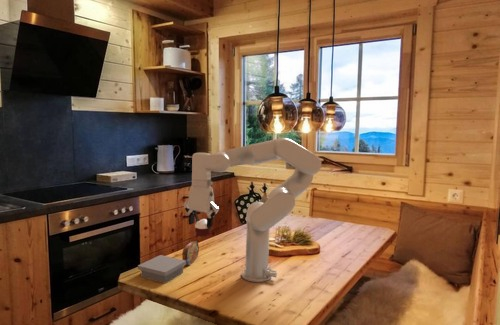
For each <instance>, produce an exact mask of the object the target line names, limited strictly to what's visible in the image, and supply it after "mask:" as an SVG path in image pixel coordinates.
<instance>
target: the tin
mask: <svg viewBox="0 0 500 325" xmlns="http://www.w3.org/2000/svg"><path fill="white" fill-rule="evenodd" d="M199 249H200V248H199V243H198V241H190V242H189V243H188V244H186V245H185V246H184V247H183V249H182V254H181V256H182V260H185V261H186V265H185V266H191V265H192V264H193V263H194V262H195V261H196V260H197V259H198V256H199V251H200V250H199Z"/></svg>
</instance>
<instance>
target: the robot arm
mask: <svg viewBox="0 0 500 325" xmlns="http://www.w3.org/2000/svg"><path fill="white" fill-rule="evenodd" d="M191 160H192V161H191V162H192V164H191V171H192V172H191V185H190V189H189V194H188V200H187V201H185V202H184V203H182V205H183V207H184V209H185V210H184V211H186V213H187V215H188V225H189V226H190V225H193V224H195V221H196V218H195V215H194V212H193V210H194V211H196V212H201V213H205V214H206V216H207V218H206V219H207V228H212V227H213V224H214V217H215V216H216V215H217V213H218V212H219V210H220V208H219V206H217V204H215V195H214V189H213V187H212V186H213V184H214V182H213V181H212V177H211V176H212V173H211V172H215V173H224V172H227V170H228V169H229V168H231V167H237V166H243V165H244V166H245V165H250V166H256V165H261V164H266V163H270V162H275V161H279V160H282V161H283V162H285V163H287V164H289V165H290V166H292V167H294V171H293V173H292V174H291V175H290V176H288V178H287V179H286V180H284V181H283V182H282V183H281V184H279V185H278V186H276V187H274V188H273V189H272V190H270V192H269V193H268V197H267V198H268V199H267V200H266V201H265V202H262V201H254V202H252V203H251V204H249V205H248V207H247V209H246V210H247V211H246V213H245V214H246V218H245V219H246V236H245V237H246V239H245V240H246V241H245V242H246V243H245V267H244V268H245V269H244V270H243V271H241V277H242V278H243V279H244V280H245V281H249V282H253V283H264V282H267V281H269V280H270V279H272V278H277V276H278V273H277V270H274V269H271V265H269V255H270V253H269V252H270V248H269V247H270V229H271V228H272V227H274V226H276V224H278V223H279V222H281V221H282V220H283V219H285V218H286V217H287V216H288V215H290V214H291V212H292V211H293V210H294V208H295V206H296V199H297V198H298V197H300V196H301V195H303V193H305V192H306V191H307V190H308V188H309V187H310V186H311V184H312V181H313V179H314V176H315V175H316V174H317V173H319V172H320V170H321V168H322V160H321V159H320V157H319V156H318V155H317V154H315V153H314V152H312V151H310V150H308V149H307V148H305V147H304V146H302V145H300V144H298V143H297V142H295V141H294V140H292V139H290V138H286V137H280V138H275V139H271V140H266V141H261V142H257V143H251V144H248V145H244V146H240V147H236V148H235V147H234V148H230V149H226V150H221V151H218V152H215V153H213V154H211V153H208V152H195V153H193V154H192V158H191Z"/></svg>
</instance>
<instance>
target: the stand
mask: <svg viewBox="0 0 500 325" xmlns="http://www.w3.org/2000/svg"><path fill="white" fill-rule="evenodd" d="M185 266H187V265H186V261H185V260H183V259H181V258H176V257H171V256H167V255H162V254H160V255H157V256H155V257H153V258H151V259H148V260H146V261H145V262H142V263H140V264H138V265H137V270H140V271H141V272H140V273H141V278H145V279H147V280H151V281H155V282H158V283H162V284H166V283H167V282H170V281H171V280H173V279H175V278H176V277H178V276H179V275H181V274H183V273H184V267H185Z"/></svg>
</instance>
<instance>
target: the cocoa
mask: <svg viewBox="0 0 500 325" xmlns="http://www.w3.org/2000/svg"><path fill="white" fill-rule="evenodd" d="M193 212H194V213H193V214H194V215H195V221H196V222H195V223H194V228H195V229H194V231H195V234H196V235H197V236H198V237H202V238H203V237H207V236H209V235H211V234H212V233H213V232H214V229H213V228H212V227H210V228H207V218H202V219H200V220H199V216H198V213H197V212H198V211H194V210H193Z"/></svg>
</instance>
